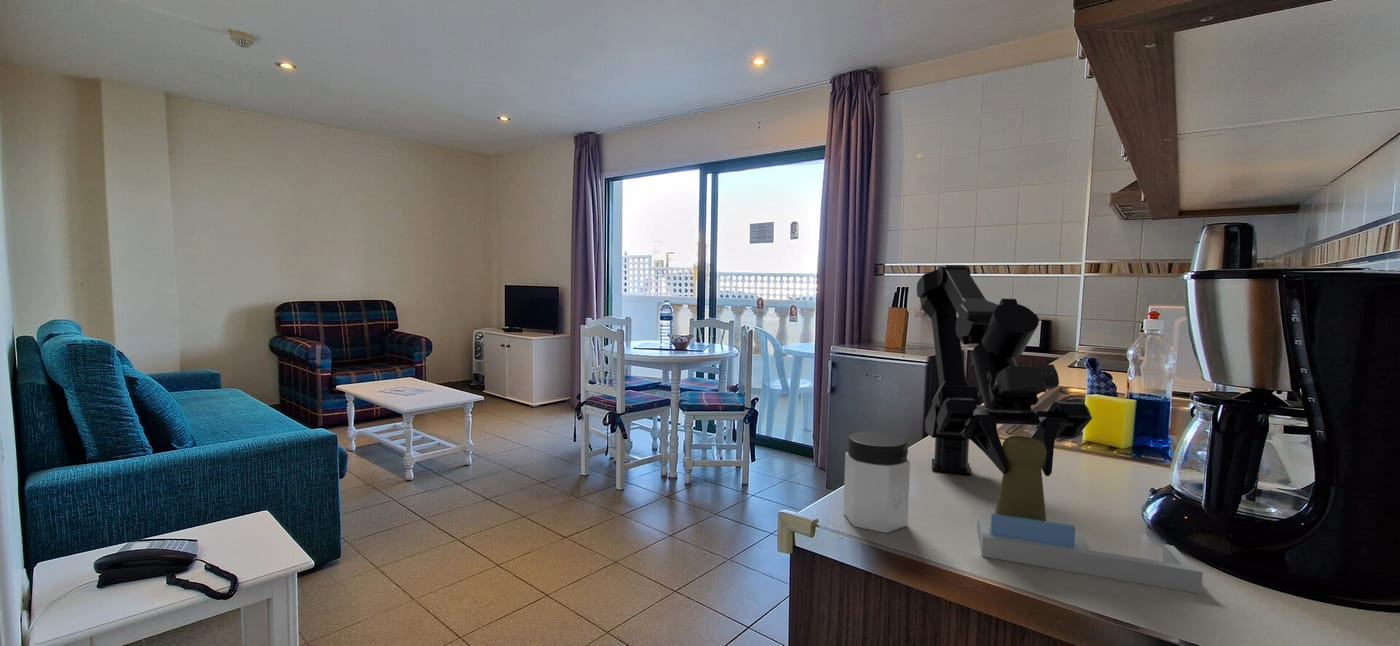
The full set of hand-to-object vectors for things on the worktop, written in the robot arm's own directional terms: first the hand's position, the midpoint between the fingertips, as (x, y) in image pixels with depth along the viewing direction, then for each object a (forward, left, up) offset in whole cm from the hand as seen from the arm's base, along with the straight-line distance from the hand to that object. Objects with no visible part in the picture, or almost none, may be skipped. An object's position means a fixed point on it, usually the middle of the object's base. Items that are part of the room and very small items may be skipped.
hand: (1027, 473), depth 75 cm
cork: (-1, 0, -7) cm, 7 cm away
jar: (0, -19, -10) cm, 21 cm away
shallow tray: (+2, +6, -9) cm, 11 cm away
